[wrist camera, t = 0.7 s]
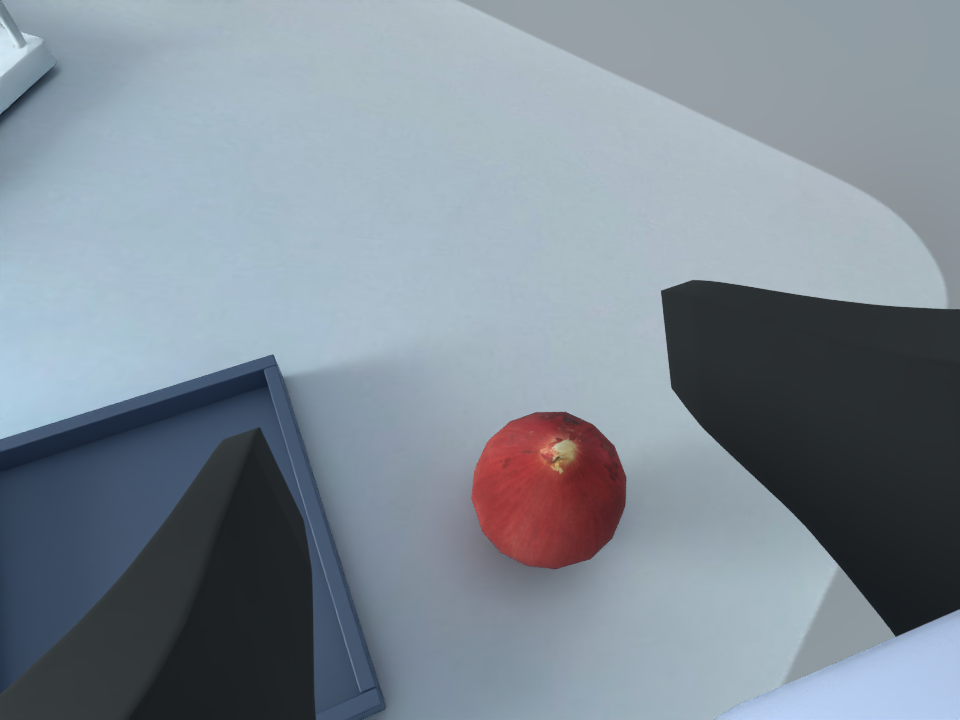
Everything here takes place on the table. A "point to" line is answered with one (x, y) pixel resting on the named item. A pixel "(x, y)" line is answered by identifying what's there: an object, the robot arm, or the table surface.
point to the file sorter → (19, 60)
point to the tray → (156, 517)
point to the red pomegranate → (549, 490)
